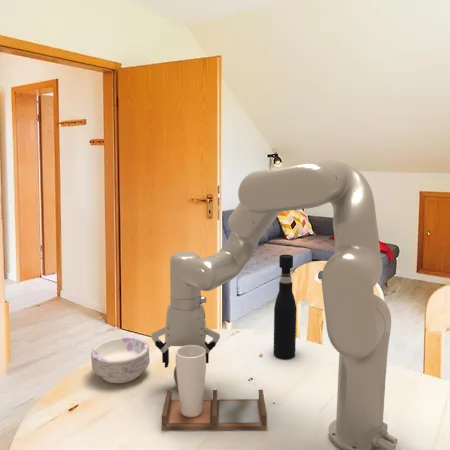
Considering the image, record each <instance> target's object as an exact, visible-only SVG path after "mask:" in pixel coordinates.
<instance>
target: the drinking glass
mask: <svg viewBox="0 0 450 450" xmlns="http://www.w3.org/2000/svg"><path fill="white" fill-rule="evenodd" d="M175 366H176V373H177V382H178V386H177V390H178V400H179V401H180V412H181V414H182V415H183V416H185V417H197V416H199V415H200V414H201V413H202V412H203V400H204V396H205V395H204V394H205V382H206V373H207V363H206V351H205V349H204V348H203V347H201V346H197V345H186V346H179V347H178V348H177V349H176V351H175Z"/></svg>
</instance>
